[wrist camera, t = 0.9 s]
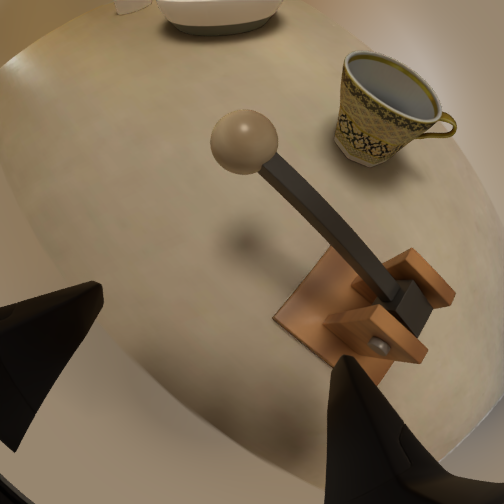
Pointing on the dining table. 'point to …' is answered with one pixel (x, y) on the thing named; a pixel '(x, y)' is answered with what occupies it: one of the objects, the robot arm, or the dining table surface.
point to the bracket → (359, 313)
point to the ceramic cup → (384, 108)
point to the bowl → (218, 15)
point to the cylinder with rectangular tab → (130, 5)
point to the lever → (313, 210)
